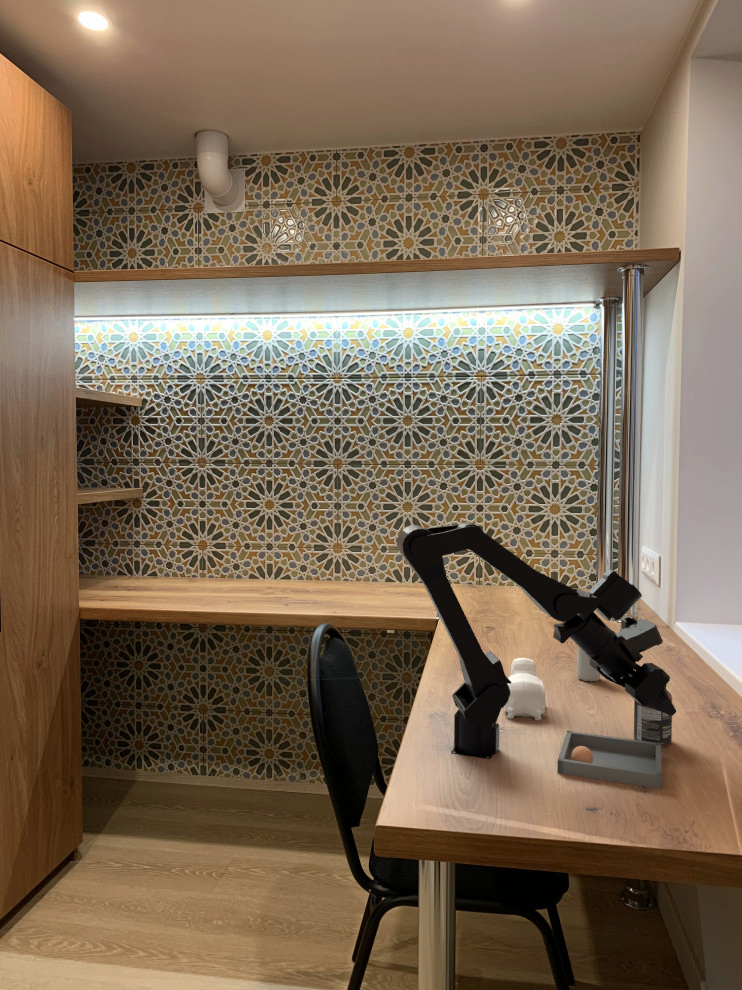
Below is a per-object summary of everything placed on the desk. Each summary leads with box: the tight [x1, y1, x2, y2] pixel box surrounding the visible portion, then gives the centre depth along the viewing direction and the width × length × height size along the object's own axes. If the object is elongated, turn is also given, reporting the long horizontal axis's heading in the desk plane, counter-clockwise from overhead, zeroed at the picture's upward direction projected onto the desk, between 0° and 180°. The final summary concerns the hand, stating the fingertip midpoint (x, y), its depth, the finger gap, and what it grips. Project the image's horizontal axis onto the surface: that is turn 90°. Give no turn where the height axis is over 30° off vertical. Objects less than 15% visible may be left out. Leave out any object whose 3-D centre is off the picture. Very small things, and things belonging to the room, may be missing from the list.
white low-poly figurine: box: [503, 657, 547, 721], centre depth 138 cm, size 9×8×15 cm
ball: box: [572, 746, 593, 763], centre depth 111 cm, size 3×3×3 cm
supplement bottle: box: [633, 685, 673, 749], centre depth 122 cm, size 6×6×11 cm
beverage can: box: [576, 645, 601, 683], centre depth 157 cm, size 5×5×12 cm
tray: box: [557, 730, 663, 790], centre depth 113 cm, size 15×13×2 cm
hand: (660, 703), depth 122 cm, fingers open, 9 cm apart
